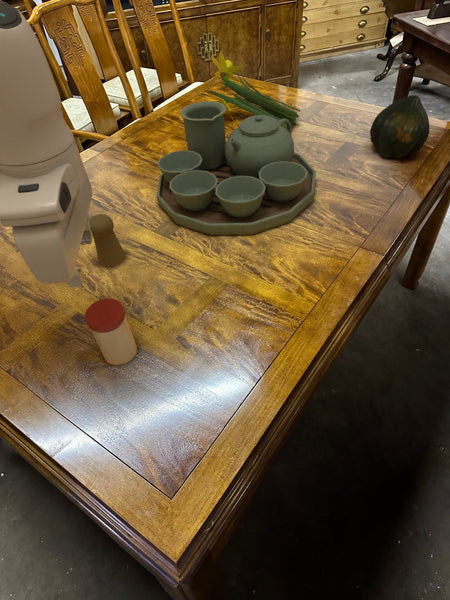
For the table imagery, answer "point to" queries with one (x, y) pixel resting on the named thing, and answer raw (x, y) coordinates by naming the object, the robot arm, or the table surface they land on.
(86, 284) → the table surface
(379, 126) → the squash
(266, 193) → the tea set
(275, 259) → the table surface
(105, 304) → the jam jar lid
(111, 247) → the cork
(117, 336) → the jam jar
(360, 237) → the table surface
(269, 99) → the daffodil flowers
